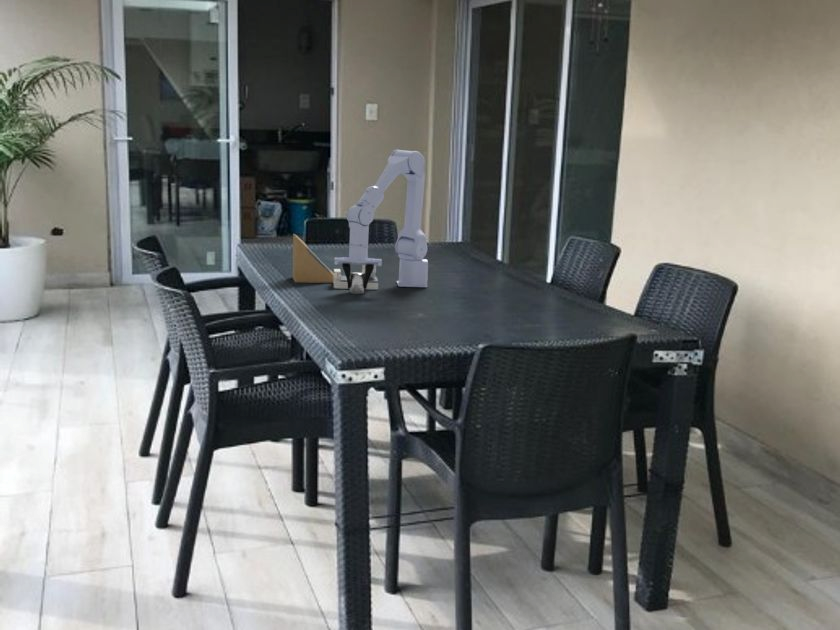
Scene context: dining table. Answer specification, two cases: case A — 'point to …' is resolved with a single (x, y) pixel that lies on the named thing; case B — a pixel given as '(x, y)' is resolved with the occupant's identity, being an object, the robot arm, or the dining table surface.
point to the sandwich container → (308, 264)
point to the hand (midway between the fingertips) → (357, 287)
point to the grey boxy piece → (342, 283)
